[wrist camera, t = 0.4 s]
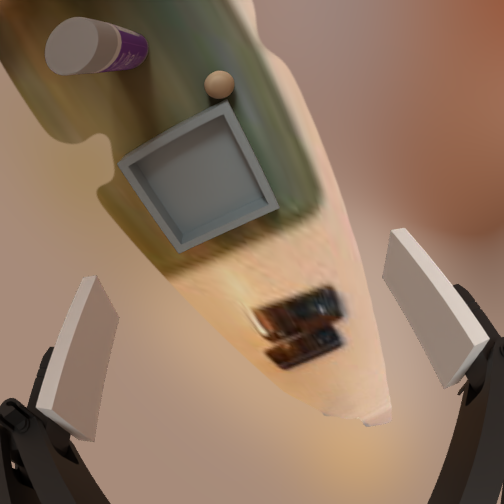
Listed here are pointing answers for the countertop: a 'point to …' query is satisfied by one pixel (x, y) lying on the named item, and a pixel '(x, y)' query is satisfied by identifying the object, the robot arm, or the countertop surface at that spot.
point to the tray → (200, 178)
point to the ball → (219, 84)
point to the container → (93, 47)
